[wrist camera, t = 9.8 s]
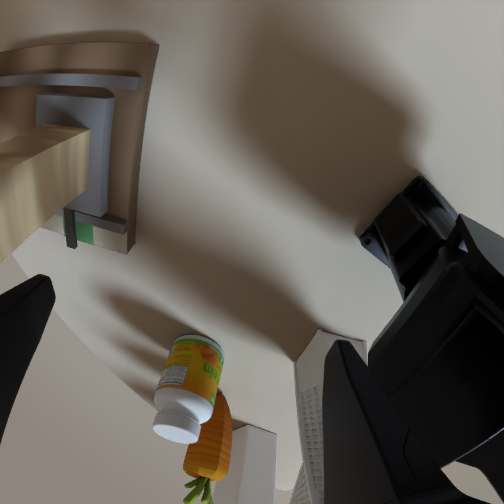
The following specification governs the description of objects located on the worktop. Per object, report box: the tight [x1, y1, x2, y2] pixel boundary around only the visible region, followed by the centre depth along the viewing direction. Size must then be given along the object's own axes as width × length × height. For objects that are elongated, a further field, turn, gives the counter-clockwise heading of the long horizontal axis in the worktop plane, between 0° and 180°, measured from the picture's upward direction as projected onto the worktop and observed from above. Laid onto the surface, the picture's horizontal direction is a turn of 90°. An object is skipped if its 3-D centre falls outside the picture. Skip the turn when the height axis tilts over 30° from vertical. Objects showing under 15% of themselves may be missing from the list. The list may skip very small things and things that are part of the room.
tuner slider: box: [0, 93, 115, 264], centre depth 13 cm, size 6×12×12 cm, turn 166°
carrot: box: [183, 393, 232, 504], centre depth 28 cm, size 5×5×15 cm
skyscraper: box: [289, 329, 367, 504], centre depth 16 cm, size 8×7×28 cm
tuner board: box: [0, 42, 159, 255], centre depth 18 cm, size 15×15×2 cm
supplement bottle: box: [153, 335, 224, 444], centre depth 26 cm, size 5×5×10 cm
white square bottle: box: [212, 425, 277, 504], centre depth 31 cm, size 6×6×22 cm
